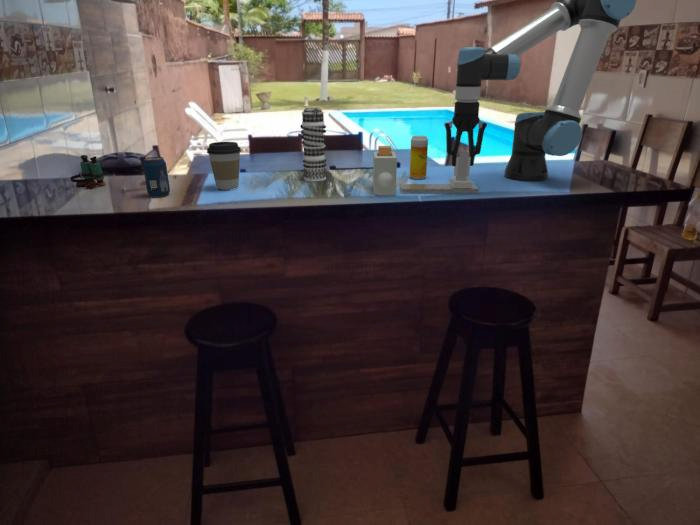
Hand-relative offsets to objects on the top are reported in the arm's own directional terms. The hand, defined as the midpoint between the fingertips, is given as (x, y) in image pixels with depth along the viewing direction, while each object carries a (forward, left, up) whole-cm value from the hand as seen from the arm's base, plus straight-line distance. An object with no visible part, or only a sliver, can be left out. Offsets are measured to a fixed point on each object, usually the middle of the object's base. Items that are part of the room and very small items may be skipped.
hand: (461, 175), depth 164 cm
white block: (+25, 0, -5) cm, 26 cm away
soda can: (+99, +5, -5) cm, 99 cm away
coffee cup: (+79, -5, -5) cm, 79 cm away
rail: (+7, 0, -5) cm, 9 cm away
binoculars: (+128, -7, -5) cm, 128 cm away
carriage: (0, 0, -3) cm, 3 cm away
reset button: (+25, 0, +4) cm, 26 cm away
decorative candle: (+50, -19, -5) cm, 54 cm away
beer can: (+12, -20, -5) cm, 24 cm away
